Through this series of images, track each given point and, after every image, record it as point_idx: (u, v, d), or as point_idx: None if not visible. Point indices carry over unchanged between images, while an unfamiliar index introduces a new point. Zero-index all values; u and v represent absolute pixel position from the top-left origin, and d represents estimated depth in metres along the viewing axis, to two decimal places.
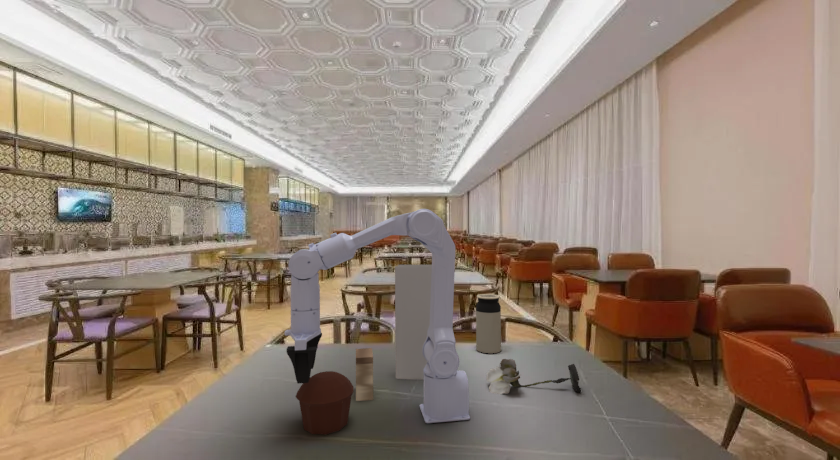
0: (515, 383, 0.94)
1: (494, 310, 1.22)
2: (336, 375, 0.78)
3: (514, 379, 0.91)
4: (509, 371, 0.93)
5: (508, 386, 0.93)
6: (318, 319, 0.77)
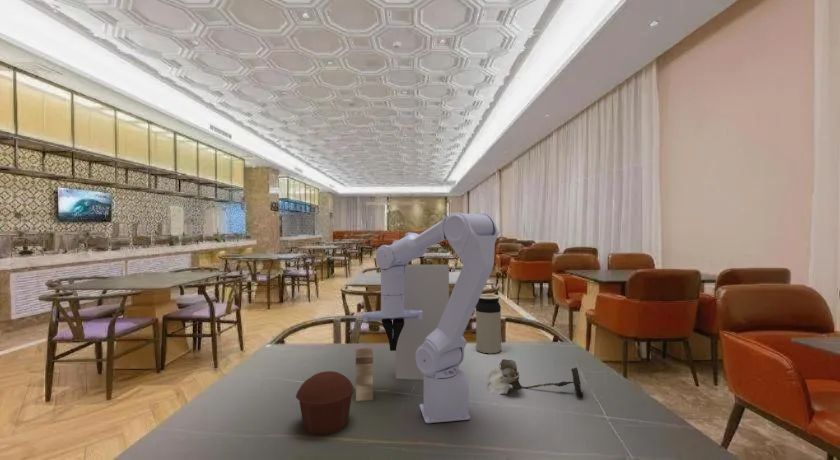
0: (515, 384, 0.94)
1: (494, 310, 1.22)
2: (336, 376, 0.78)
3: (512, 380, 0.91)
4: (508, 372, 0.93)
5: (507, 387, 0.92)
6: (389, 305, 0.91)
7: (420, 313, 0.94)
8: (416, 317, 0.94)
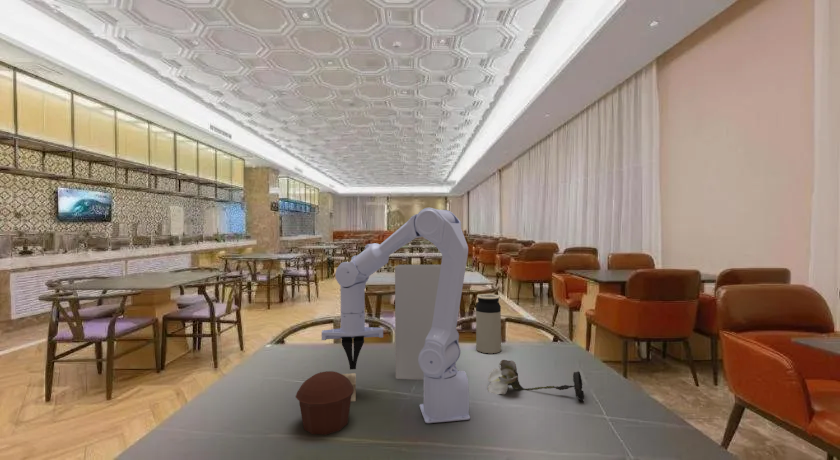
0: (514, 385, 0.93)
1: (494, 310, 1.22)
2: (336, 376, 0.78)
3: (510, 381, 0.90)
4: (507, 372, 0.92)
5: (506, 387, 0.92)
6: (348, 323, 0.89)
7: (381, 331, 0.92)
8: (377, 335, 0.93)
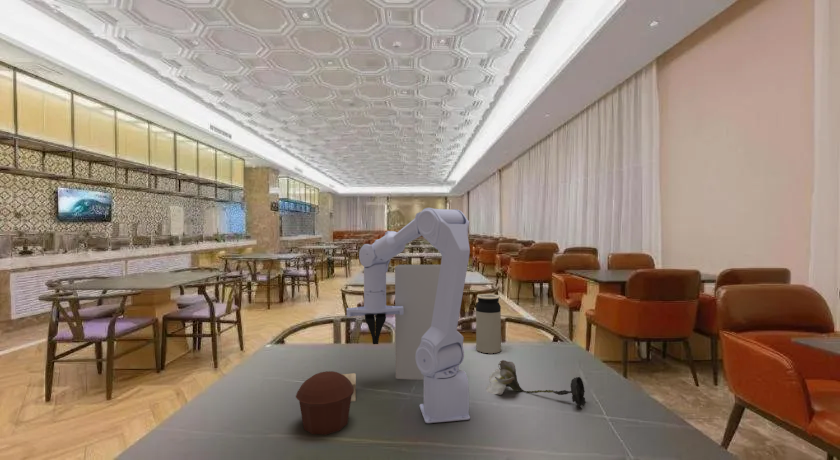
0: (513, 386, 0.92)
1: (494, 310, 1.22)
2: (336, 376, 0.78)
3: (506, 381, 0.90)
4: (504, 373, 0.92)
5: (503, 388, 0.92)
6: (372, 300, 0.96)
7: (401, 309, 0.99)
8: (397, 312, 0.99)
